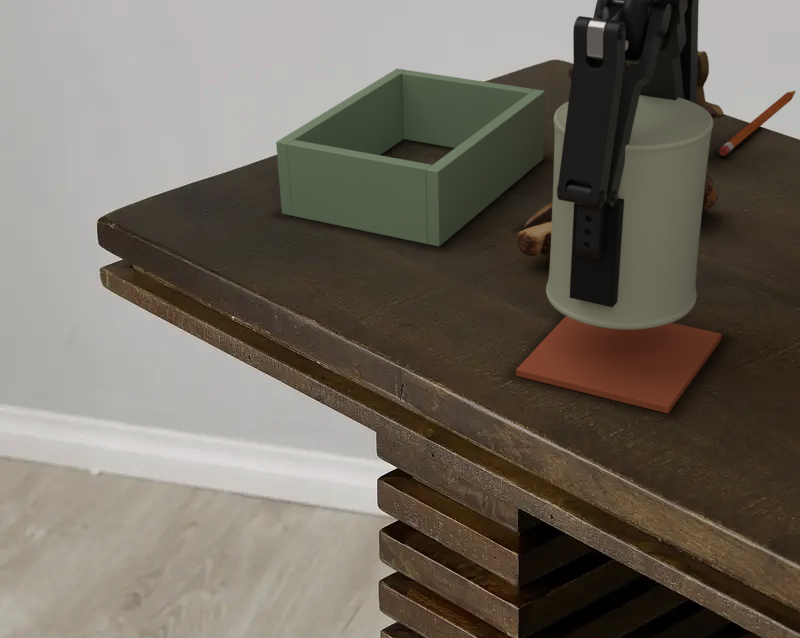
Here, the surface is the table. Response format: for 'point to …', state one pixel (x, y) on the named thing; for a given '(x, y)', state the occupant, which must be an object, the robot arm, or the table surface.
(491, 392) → the table surface
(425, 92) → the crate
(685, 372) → the mat
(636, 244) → the can
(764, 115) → the pencil
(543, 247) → the lashed bone hook
